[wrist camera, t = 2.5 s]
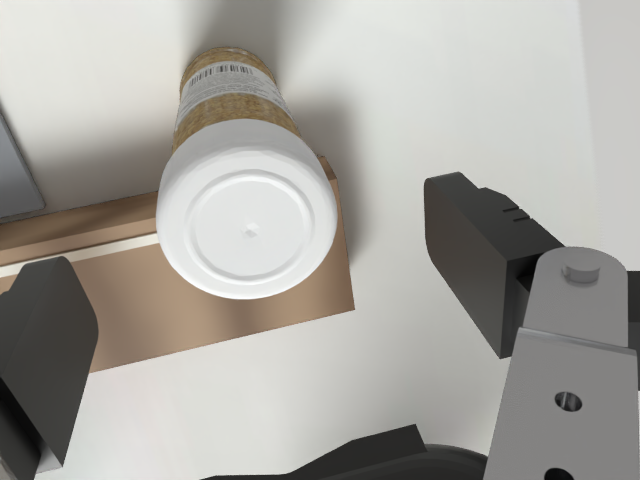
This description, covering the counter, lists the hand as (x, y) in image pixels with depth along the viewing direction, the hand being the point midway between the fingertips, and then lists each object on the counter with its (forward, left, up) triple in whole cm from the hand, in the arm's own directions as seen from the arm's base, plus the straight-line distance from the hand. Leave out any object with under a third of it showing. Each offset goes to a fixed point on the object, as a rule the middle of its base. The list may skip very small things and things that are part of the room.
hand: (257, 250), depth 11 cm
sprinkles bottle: (0, 0, -15) cm, 15 cm away
